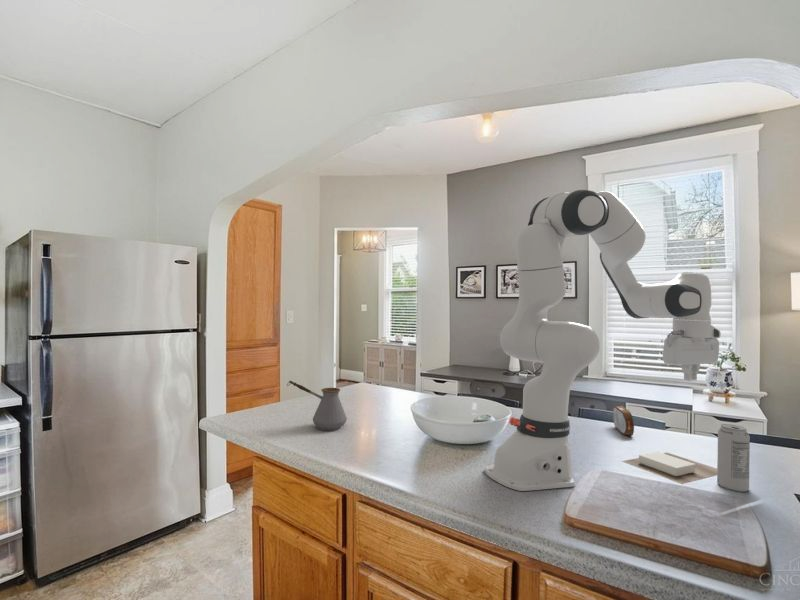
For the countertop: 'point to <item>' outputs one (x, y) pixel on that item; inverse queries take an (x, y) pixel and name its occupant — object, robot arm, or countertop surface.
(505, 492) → the countertop surface
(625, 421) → the tin
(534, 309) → the robot arm
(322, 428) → the coffee pot
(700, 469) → the board
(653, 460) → the tile
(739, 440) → the energy drink can
